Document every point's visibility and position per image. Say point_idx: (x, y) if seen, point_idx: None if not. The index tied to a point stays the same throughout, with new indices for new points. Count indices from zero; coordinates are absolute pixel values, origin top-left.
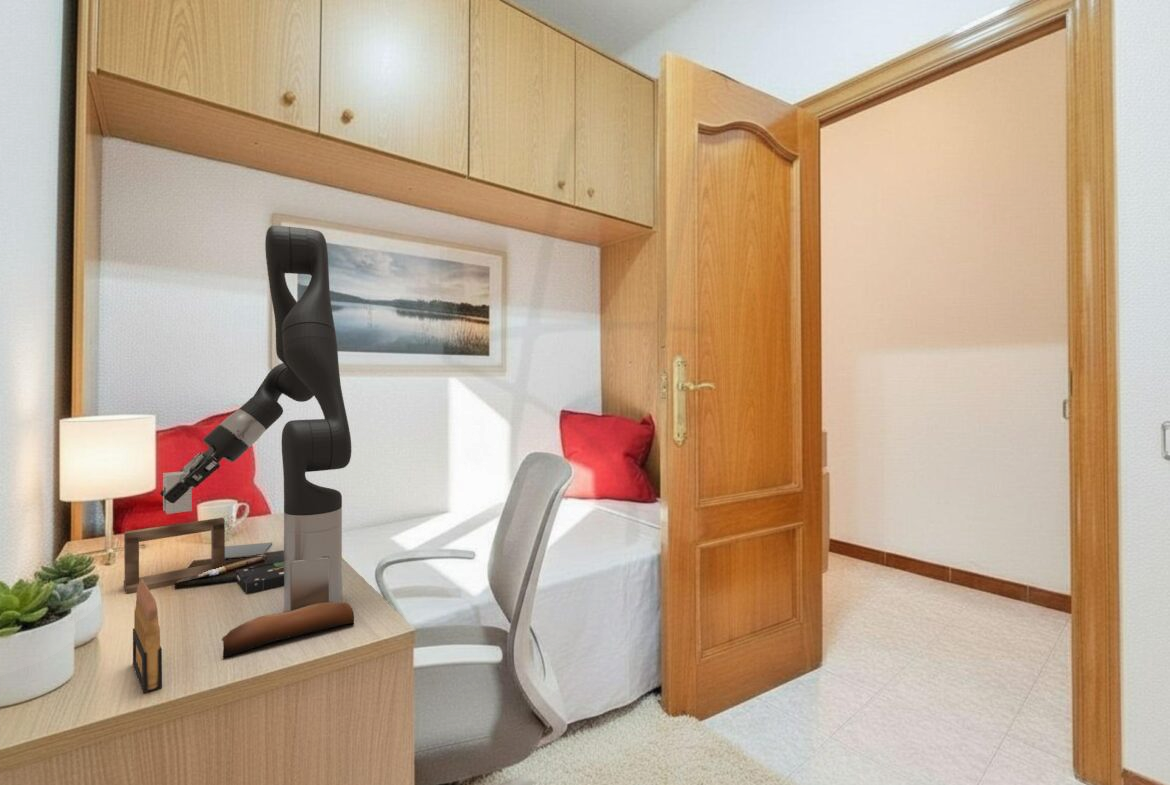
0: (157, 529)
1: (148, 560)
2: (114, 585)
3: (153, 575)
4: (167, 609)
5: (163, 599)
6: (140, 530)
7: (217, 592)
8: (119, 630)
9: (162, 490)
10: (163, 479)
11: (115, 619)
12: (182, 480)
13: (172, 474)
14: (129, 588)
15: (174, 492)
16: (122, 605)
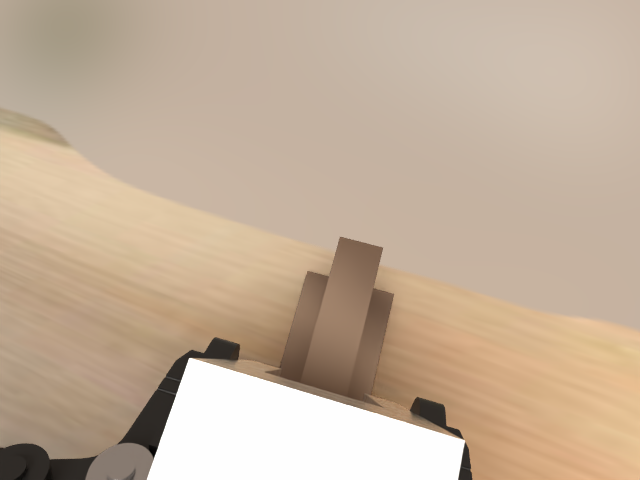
0: (311, 342)
1: (628, 447)
2: (416, 284)
3: (369, 359)
4: (98, 282)
5: (178, 307)
6: (347, 291)
7: (94, 411)
8: (75, 181)
9: (431, 416)
10: (414, 420)
11: (147, 199)
12: (97, 456)
13: (247, 443)
14: (306, 277)
15: (160, 385)
16: (227, 238)
